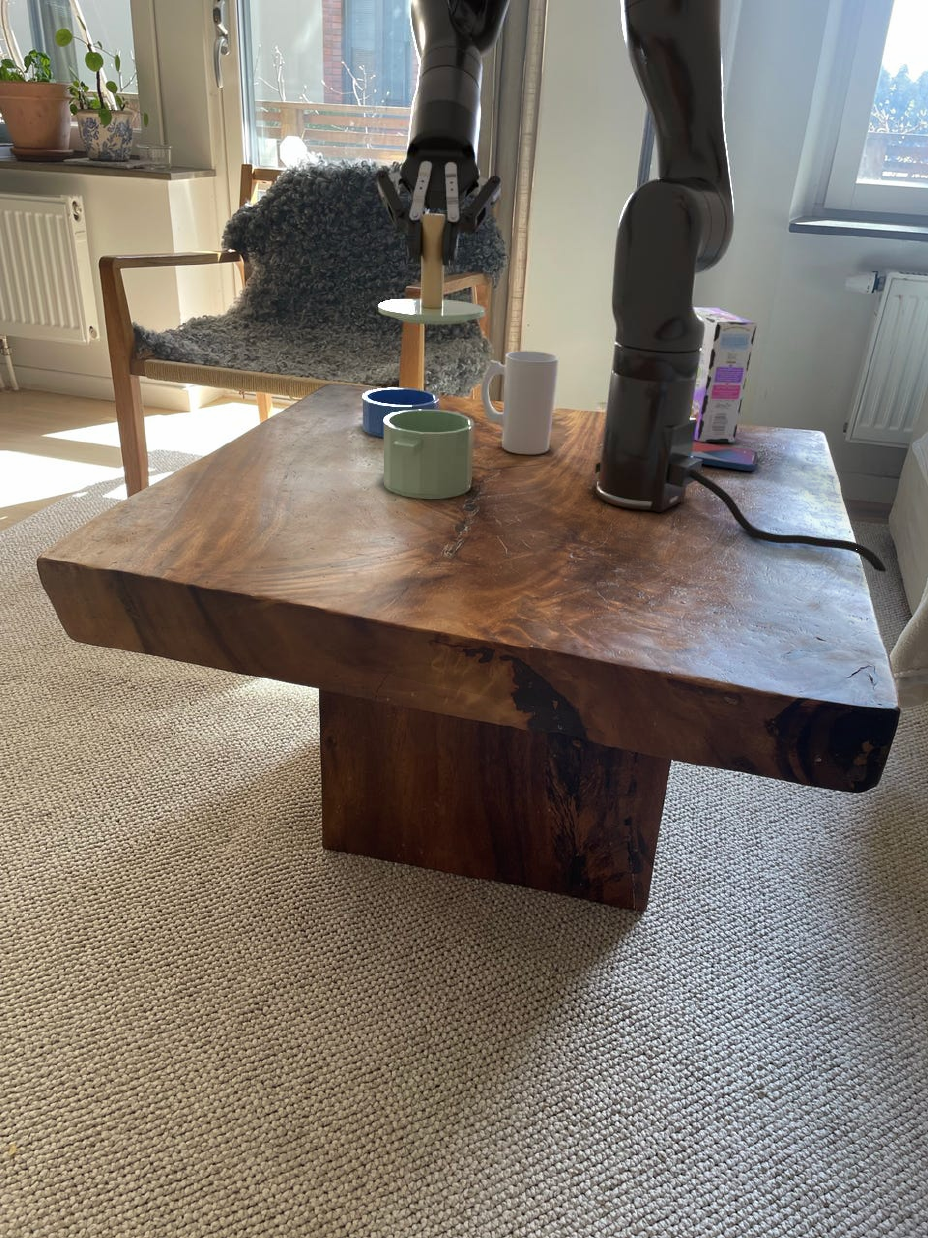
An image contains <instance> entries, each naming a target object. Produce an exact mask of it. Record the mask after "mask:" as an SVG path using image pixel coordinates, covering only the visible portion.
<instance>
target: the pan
mask: <svg viewBox="0 0 928 1238" xmlns="http://www.w3.org/2000/svg"><path fill="white" fill-rule="evenodd" d="M439 408H440V399H439V396H438V395H437V394H435V393H433V392H431V391H428V390H423V389H418V388H408V387H387V388H377V389H373V390H372V389H371V390H368V391H366V392H365V393H362V430H363V431H364V432H365V433H367V434H368V435H371V436H373V437H378V438H382V439H384V418H385V417H386V416H388V415H390V414H392V413H396V412H400V411H406V410H418V409H419V410H420V409H422V410H440V409H439Z"/></svg>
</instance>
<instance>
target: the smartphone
mask: <svg viewBox="0 0 928 1238" xmlns="http://www.w3.org/2000/svg"><path fill="white" fill-rule="evenodd" d="M691 456H692V457H694V458H698V459H702V465H708V466H713V467H719V468H726V469H733V470H739V471H746V472H753V471H754V470H755V468H756V463H757V457H758V452H757V451H756V450H752V449H747V448H740V447H732V446H727V445H721V444H713V443H709V442H697V441H694V443H693V449H692V455H691Z"/></svg>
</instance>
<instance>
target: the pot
mask: <svg viewBox="0 0 928 1238" xmlns="http://www.w3.org/2000/svg"><path fill="white" fill-rule="evenodd" d="M474 441H475V421H474V419H472V418H471V417H469V416H467V415H465V414H462V413H461V412H459V411H452V410H440V409H439V410H422V409H420V410H419V409H418V410H406V411H400V412H396V413H392V414H390V415H388V416H386V417H385V418H384V438H383V486H384V488H386V489H387V490H388V491H389V492H391V493H393V494H396V495H398V496H402V497H406V498H413V499H419V500H444V499H450V498H456V497H458V496H462V495H464V494H466V493H468V491H470V490H471V487H472V484H473V483H472V481H473V462H474Z"/></svg>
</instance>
